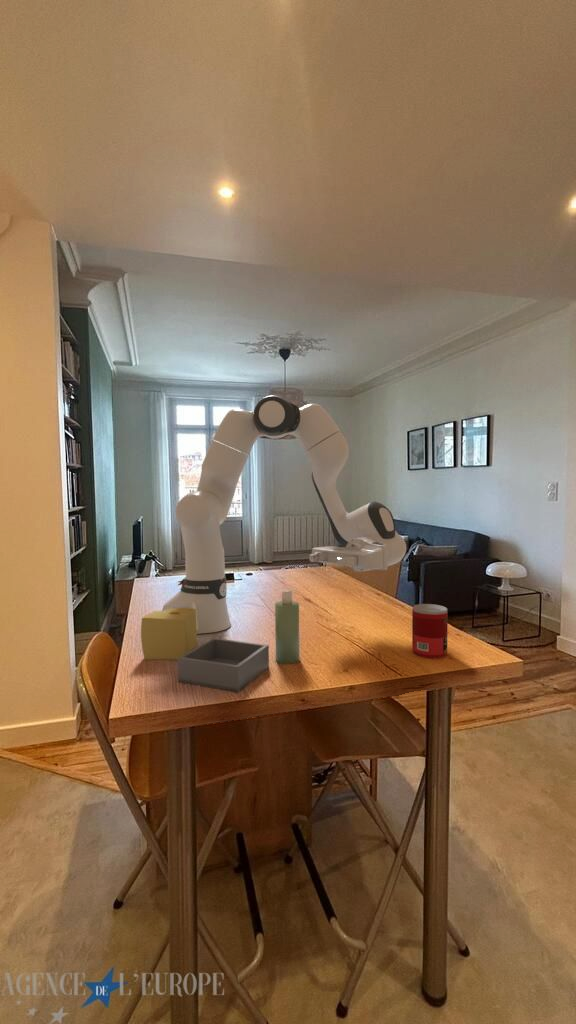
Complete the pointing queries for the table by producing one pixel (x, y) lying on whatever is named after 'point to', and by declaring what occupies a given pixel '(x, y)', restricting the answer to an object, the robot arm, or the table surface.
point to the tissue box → (168, 633)
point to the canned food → (429, 630)
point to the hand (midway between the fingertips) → (324, 560)
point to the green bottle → (287, 629)
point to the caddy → (223, 664)
